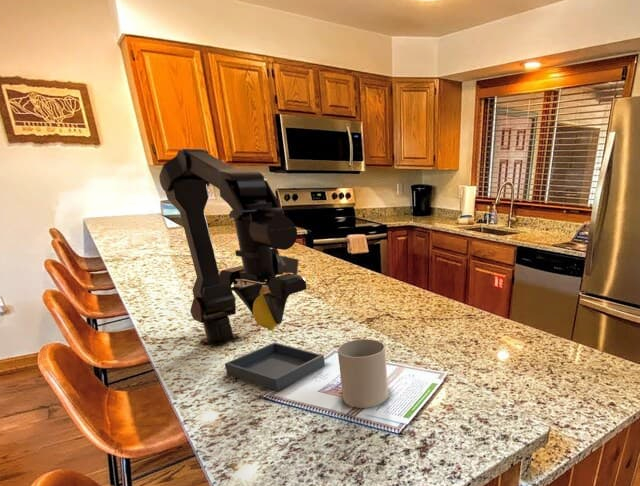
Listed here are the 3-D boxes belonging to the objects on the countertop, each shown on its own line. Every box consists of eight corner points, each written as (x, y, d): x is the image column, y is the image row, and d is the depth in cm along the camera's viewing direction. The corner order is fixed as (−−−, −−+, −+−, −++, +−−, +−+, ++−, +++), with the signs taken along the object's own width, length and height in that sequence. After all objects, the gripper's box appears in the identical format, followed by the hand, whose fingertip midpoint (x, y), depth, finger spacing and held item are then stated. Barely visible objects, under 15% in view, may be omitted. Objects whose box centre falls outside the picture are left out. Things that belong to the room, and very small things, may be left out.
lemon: (276, 335, 86) (269, 297, 82) (251, 334, 87) (243, 296, 83) (289, 326, 90) (284, 289, 87) (266, 324, 91) (259, 288, 88)
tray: (227, 374, 90) (224, 363, 89) (276, 352, 100) (274, 342, 99) (277, 391, 83) (275, 379, 82) (325, 365, 93) (323, 355, 92)
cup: (367, 412, 75) (363, 361, 71) (333, 400, 79) (327, 351, 75) (396, 392, 82) (394, 344, 78) (363, 382, 86) (359, 336, 82)
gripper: (321, 241, 83) (330, 317, 90) (256, 234, 92) (269, 304, 98) (276, 250, 74) (290, 333, 81) (209, 242, 83) (226, 318, 89)
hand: (269, 321), depth 88 cm, fingers closed on lemon, 5 cm apart
